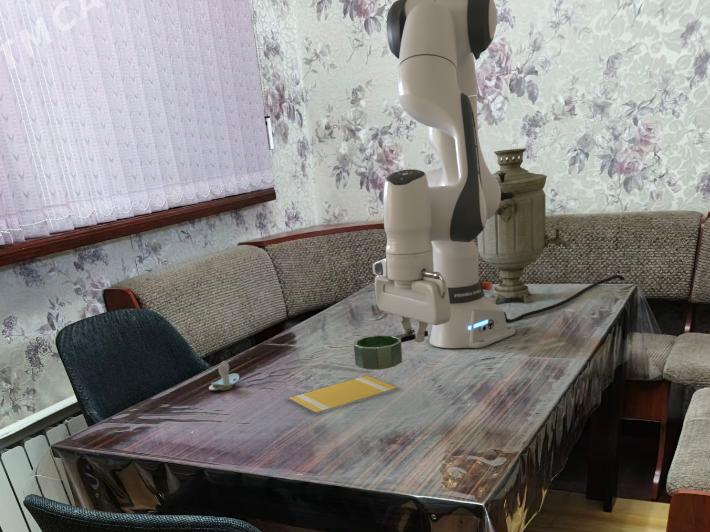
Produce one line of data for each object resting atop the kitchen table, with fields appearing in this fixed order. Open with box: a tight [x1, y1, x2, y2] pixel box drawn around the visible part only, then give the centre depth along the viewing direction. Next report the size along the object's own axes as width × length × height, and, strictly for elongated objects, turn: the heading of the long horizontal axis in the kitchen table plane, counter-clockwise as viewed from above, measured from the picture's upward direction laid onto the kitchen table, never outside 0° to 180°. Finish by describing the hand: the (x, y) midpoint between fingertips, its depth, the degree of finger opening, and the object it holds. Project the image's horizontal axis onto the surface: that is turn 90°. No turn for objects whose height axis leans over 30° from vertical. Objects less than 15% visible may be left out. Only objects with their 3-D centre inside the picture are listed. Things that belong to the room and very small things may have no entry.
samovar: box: [477, 147, 569, 305], centre depth 202 cm, size 30×26×40 cm
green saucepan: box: [353, 329, 429, 371], centre depth 139 cm, size 16×9×4 cm, turn 124°
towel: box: [288, 375, 398, 413], centre depth 151 cm, size 20×12×1 cm, turn 124°
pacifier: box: [208, 360, 240, 392], centre depth 160 cm, size 7×6×6 cm
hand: (413, 339), depth 141 cm, fingers closed on green saucepan, 2 cm apart
